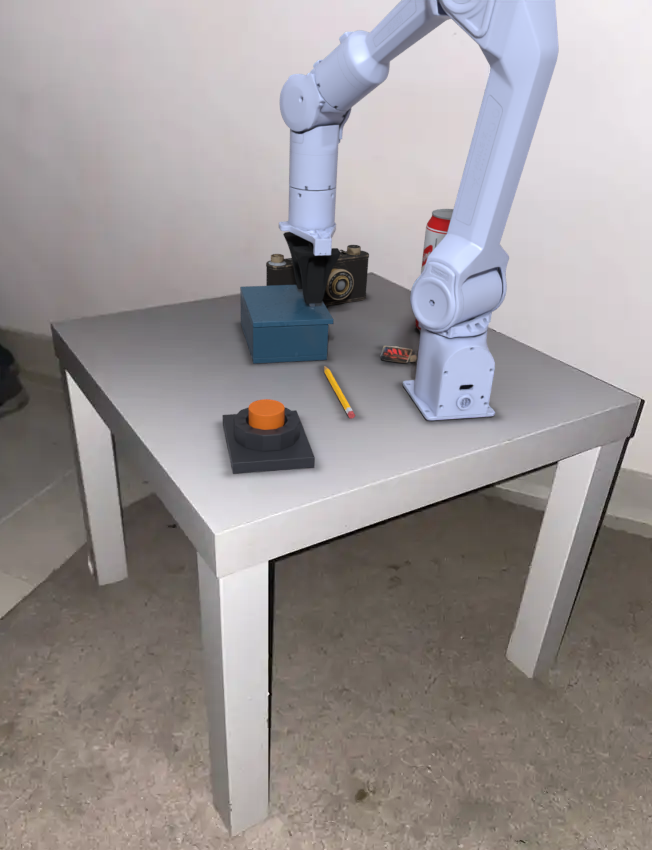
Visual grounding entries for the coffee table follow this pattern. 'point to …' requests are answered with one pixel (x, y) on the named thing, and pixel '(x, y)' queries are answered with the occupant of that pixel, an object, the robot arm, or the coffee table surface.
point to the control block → (266, 444)
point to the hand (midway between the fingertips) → (309, 295)
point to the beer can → (435, 234)
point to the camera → (343, 279)
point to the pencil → (339, 393)
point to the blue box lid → (282, 307)
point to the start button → (266, 414)
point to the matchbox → (397, 354)
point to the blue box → (284, 341)
